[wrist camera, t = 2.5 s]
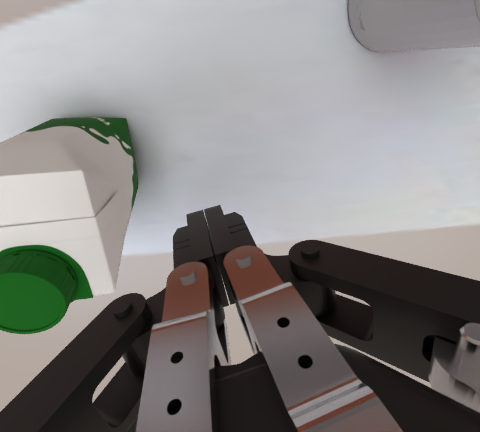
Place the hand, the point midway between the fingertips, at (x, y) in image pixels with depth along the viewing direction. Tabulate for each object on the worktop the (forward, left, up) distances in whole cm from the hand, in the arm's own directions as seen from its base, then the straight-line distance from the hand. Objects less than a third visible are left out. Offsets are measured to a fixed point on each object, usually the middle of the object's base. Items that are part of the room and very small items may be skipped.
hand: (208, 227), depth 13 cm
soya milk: (+10, 0, -22) cm, 24 cm away
